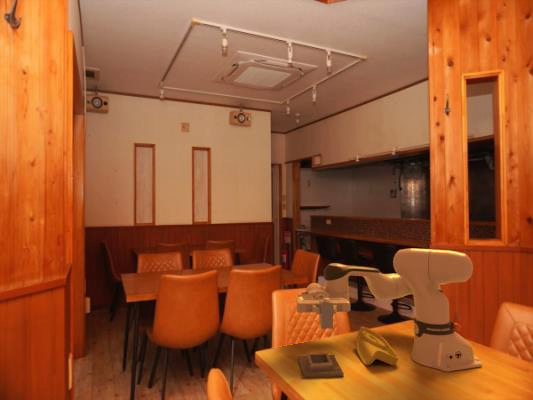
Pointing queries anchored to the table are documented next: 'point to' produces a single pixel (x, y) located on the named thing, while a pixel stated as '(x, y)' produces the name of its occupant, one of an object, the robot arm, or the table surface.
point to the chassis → (319, 366)
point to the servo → (326, 313)
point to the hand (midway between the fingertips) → (326, 311)
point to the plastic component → (374, 348)
